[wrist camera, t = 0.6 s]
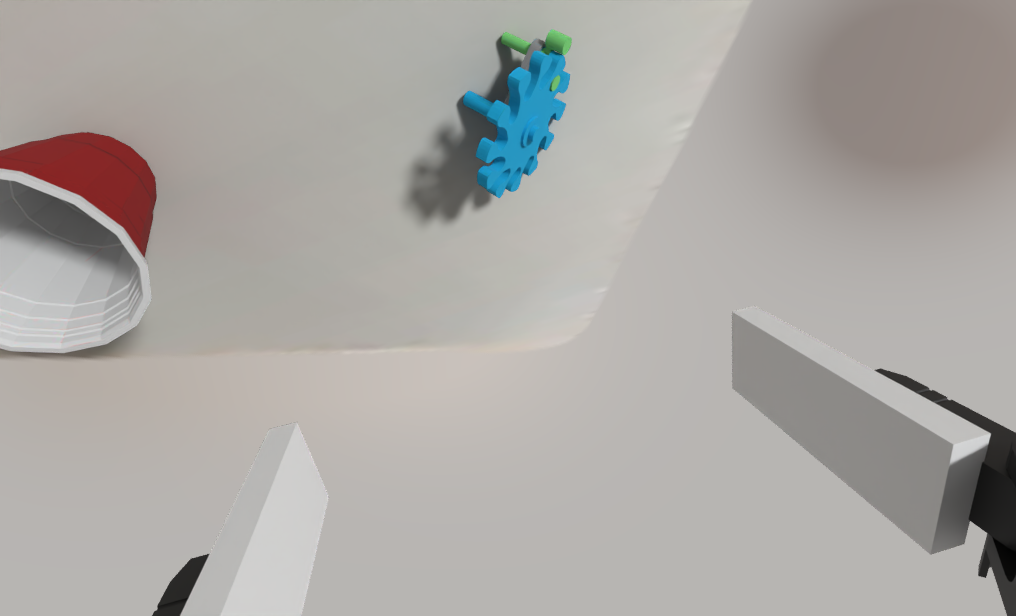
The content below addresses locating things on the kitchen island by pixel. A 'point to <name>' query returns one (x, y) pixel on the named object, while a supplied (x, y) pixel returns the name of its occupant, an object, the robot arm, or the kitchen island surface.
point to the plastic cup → (73, 242)
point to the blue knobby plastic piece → (522, 112)
